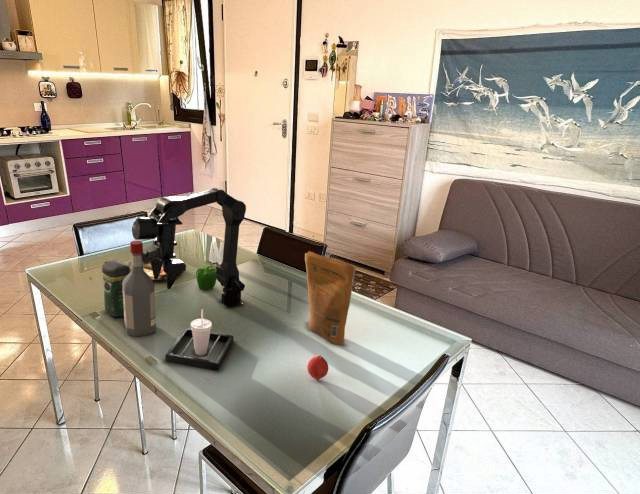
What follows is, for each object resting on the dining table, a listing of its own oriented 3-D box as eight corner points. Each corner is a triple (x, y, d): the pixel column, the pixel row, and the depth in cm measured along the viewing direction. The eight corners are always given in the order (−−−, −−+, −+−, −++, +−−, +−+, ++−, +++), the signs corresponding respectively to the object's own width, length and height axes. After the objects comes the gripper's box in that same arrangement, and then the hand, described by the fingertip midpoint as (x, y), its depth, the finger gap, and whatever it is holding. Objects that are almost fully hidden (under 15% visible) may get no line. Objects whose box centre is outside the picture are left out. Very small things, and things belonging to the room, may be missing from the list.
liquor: (128, 338, 137) (122, 248, 127) (124, 324, 145) (118, 239, 135) (157, 333, 141) (154, 245, 130) (151, 320, 149) (148, 236, 138)
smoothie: (215, 348, 134) (215, 308, 129) (206, 359, 129) (206, 317, 124) (196, 344, 136) (196, 303, 131) (186, 354, 130) (186, 313, 126)
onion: (304, 372, 125) (306, 348, 122) (324, 372, 126) (327, 348, 123) (308, 385, 120) (311, 360, 117) (329, 385, 120) (332, 360, 117)
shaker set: (231, 267, 198) (232, 244, 194) (224, 269, 195) (224, 245, 191) (215, 259, 206) (215, 237, 202) (207, 261, 203) (208, 238, 199)
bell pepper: (191, 289, 173) (191, 266, 170) (201, 282, 180) (201, 259, 177) (210, 294, 170) (210, 270, 167) (219, 286, 178) (220, 263, 174)
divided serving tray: (185, 334, 141) (185, 327, 140) (233, 342, 138) (233, 335, 137) (165, 361, 127) (165, 354, 126) (218, 371, 124) (218, 363, 123)
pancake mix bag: (337, 351, 137) (348, 268, 127) (296, 325, 151) (303, 248, 141) (352, 344, 141) (363, 263, 131) (310, 320, 155) (318, 245, 145)
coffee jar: (136, 313, 153) (133, 263, 147) (115, 320, 148) (111, 269, 141) (121, 303, 159) (118, 255, 153) (101, 310, 154) (97, 261, 147)
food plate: (194, 271, 191) (194, 264, 190) (156, 288, 172) (156, 280, 171) (152, 258, 203) (152, 251, 202) (113, 273, 185) (112, 265, 183)
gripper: (129, 231, 140) (127, 276, 145) (155, 248, 127) (151, 297, 131) (161, 229, 147) (158, 273, 152) (188, 245, 133) (184, 293, 138)
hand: (162, 283), depth 143 cm, fingers open, 9 cm apart
